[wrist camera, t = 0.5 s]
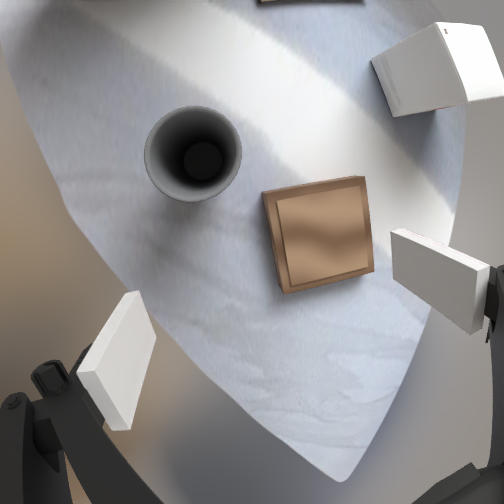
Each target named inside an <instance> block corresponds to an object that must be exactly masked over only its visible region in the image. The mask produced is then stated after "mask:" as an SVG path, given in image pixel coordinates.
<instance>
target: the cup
mask: <svg viewBox="0 0 504 504" xmlns="http://www.w3.org/2000/svg"><path fill="white" fill-rule="evenodd" d="M241 158H242V146H241V142H240V137H239V135H238V133H237V131H236V129H235V127H234V126H233V125H232V123H231V122H230V121H229V120H228V119H227V118H226V117H225V116H224V115H222V114H221V113H219V112H217V111H216V110H213V109H210V108H207V107H202V106H186V107H182V108H179V109H176V110H174V111H172V112H170V113H168V114H167V115H165V116H164V117H162V118H161V119H160V120H159V121H158V122H157V123H156V124H155V126H154V127H153V129H152V130H151V132H150V133H149V136H148V138H147V141H146V145H145V150H144V162H145V166H146V171H147V173H148V175H149V177H150V179H151V181H152V182H153V183H154V185H155V186H156V187H157V188H158V189H159V190H160V191H161V192H162V193H164V194H165V195H167V196H169V197H170V198H173V199H176V200H179V201H184V202H199V201H203V200H207V199H210V198H212V197H214V196H216V195H218V194H219V193H221V192H222V191H223V190H225V189H226V188H227V187H228V186H229V185H230V183H231V182H232V181H233V179H234V178H235V176H236V174H237V172H238V169H239V167H240V163H241Z"/></svg>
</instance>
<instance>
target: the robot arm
mask: <svg viewBox="0 0 504 504" xmlns="http://www.w3.org/2000/svg"><path fill="white" fill-rule="evenodd" d="M390 234H391V247H392V265H393V279H394V280H395V281H397V282H398V283H400V284H401V285H402V286H404V287H405V288H407V289H408V290H410V291H411V292H412V293H414V294H415V295H417V296H418V297H419V298H421V299H422V300H423V301H425V302H426V303H428V304H429V305H430V306H432V307H433V308H434V309H436V310H437V311H439V312H440V313H441V314H443V315H444V316H445V317H447V318H448V319H449V320H451V321H452V322H453V323H455V324H456V325H457V326H458V327H460V328H461V329H462V330H464V331H465V332H466V333H468V334H469V335H471V334H473V333H474V332H477V331H478V330H480V329H482V326H483V320H484V315H485V316H487V317H488V318H490V322H489V327H488V333H487V338H486V343H488V340H489V339H490V346H491V358H492V376H493V420H492V437H491V438H492V439H491V449H490V458H489V462H488V465H487V467H485V468H481V469H476V468H475V466H474V465H473V464H472V463H469V464H467V465H466V466H464V467H463V468H461V469H460V470H458V471H456V472H455V473H453V474H451V475H450V476H448V477H446V478H445V479H443V480H441V481H439V482H438V483H436V484H435V485H434V486H432V487H431V488H430V489H429V490H428V491H427V492H425V493H424V494H423V495H422V496H421V497H419V498H418V499H417V500H416V501H414V502H413V503H412V504H504V265H501V266H499V267H498V268H497V269H496V268H494V267H492V266H490V265H488V264H486V263H483V262H481V261H479V260H477V259H475V258H472V257H470V256H468V255H466V254H463V253H461V252H459V251H457V250H454V249H452V248H450V247H447V246H445V245H442V244H440V243H438V242H435V241H433V240H430V239H428V238H426V237H423V236H421V235H418V234H416V233H413V232H411V231H408V230H405V229H403V228H400V229H396V230H392V231H390ZM156 338H157V337H156V335H155V332H154V330H153V327H152V324H151V322H150V319H149V317H148V314H147V311H146V309H145V306H144V303H143V300H142V297H141V295H140V292H139V290H138V291H133V292H129V293H125V295H124V296H123V298H122V299H121V301H120V302H119V304H118V305H117V307H116V308H115V310H114V312H113V313H112V314H111V316H110V318H109V319H108V321H107V322H106V324H105V325H104V327H103V329H102V330H101V332H100V333H99V335H98V337H97V338H96V340H95V342H94V343H91V344H90V345H89V346H88V347H87V348H86V349H84V350H83V352H82V353H81V355H80V357H79V359H78V360H77V362H76V365H74V366H73V368H72V370H71V371H70V373H69V375H68V373H67V371H66V369H65V367H64V366H63V364H62V362H61V361H59V360H51V361H48V362H45V363H43V364H41V365H40V366H38V367H37V368H36V369H35V370H34V371H33V373H32V374H31V379H32V381H33V383H34V384H35V386H36V388H37V389H38V391H39V392H40V394H41V395H42V397H43V399H40V400H37V401H33V402H31V401H30V400H29V398H28V397H27V395H26V394H25V393H23V392H18V393H14V394H11V395H9V397H7V398H6V399H5V401H4V402H3V403H2V405H1V408H0V504H73V503H72V498H71V493H70V488H69V482H68V476H67V470H66V463H65V455H64V452H65V454H66V456H67V458H68V460H69V462H70V464H71V466H72V468H73V470H74V472H75V474H76V476H77V478H78V480H79V482H80V484H81V485H82V487H83V489H84V491H85V493H86V494H87V496H88V498H89V500H90V501H91V503H92V504H164V503H163V502H162V501H161V500H160V499H159V498H158V497H157V496H156V494H155V493H154V492H153V491H152V490H151V489H150V488H149V487H148V486H147V484H146V483H145V482H144V481H143V480H142V479H141V478H140V476H139V475H138V474H137V473H136V472H135V470H133V468H132V467H131V465H130V464H129V463H128V462H127V460H126V459H125V458H124V457H123V455H122V454H121V453H120V452H119V450H118V449H117V448H116V446H115V445H114V444H113V442H112V441H111V440H110V438H109V437H108V435H107V434H106V432H105V431H104V430H103V428H102V426H103V423H104V421H106V422H107V424H108V425H109V427H110V428H111V429H112V431H114V430H130V429H131V425H132V421H133V417H134V414H135V410H136V406H137V402H138V399H139V395H140V392H141V388H142V384H143V381H144V378H145V374H146V371H147V367H148V364H149V360H150V357H151V353H152V351H153V347H154V344H155V341H156Z"/></svg>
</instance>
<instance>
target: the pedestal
mask: <svg viewBox="0 0 504 504" xmlns="http://www.w3.org/2000/svg"><path fill="white" fill-rule="evenodd" d="M262 195H263V200H264V206H265V211H266V216H267V222H268V227H269V232H270V238H271V243H272V248H273V254H274V259H275V265H276V270H277V276H278V282H279V286H280V288H281V290H282V292H283V294H289V293H293V292H297V291H301V290H305V289H309V288H313V287H317V286H321V285H325V284H329V283H333V282H337V281H341V280H345V279H349V278H353V277H356V276H360V275H364V274H367V273H371V272H374V258H373V245H372V234H371V223H370V214H369V205H368V197H367V190H366V182H365V176H349V177H343V178H337V179H331V180H325V181H319V182H313V183H307V184H302V185H296V186H291V187H285V188H280V189H275V190H270V191H265V192H262Z"/></svg>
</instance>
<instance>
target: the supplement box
mask: <svg viewBox="0 0 504 504" xmlns="http://www.w3.org/2000/svg"><path fill="white" fill-rule="evenodd" d="M371 62H372V64H373V66H374V69H375V71H376V74H377V76H378V78H379V81H380V83H381V86H382V89H383V91H384V94H385V97H386V99H387V102H388V105H389V107H390V110H391V113H392V116H393V117H400V116H405V115H410V114H415V113H421V112H426V111H431V110H437V109H442V108H447V107H453V106H458V105H464V104H469V103H474V102H479V101H485V100H490V99H495V98H499V97H504V79H503V76H502V74H501V71H500V68H499V66H498V63H497V60H496V58H495V55H494V52H493V50H492V47H491V45H490V42H489V40H488V38H487V35H486V33H485V31H484V29H483V27H482V26H476V25H466V24H462V23H458V24H456V23H442V22H435V23H433V24H432V25H430V26H428V27H426V28H424V29H422V30H420V31H418V32H417V33H415V34H413V35H411V36H409V37H408V38H406V39H404V40H402V41H401V42H399V43H397V44H395V45H394V46H392V47H390V48H389V49H387V50H385V51H384V52H382V53H380V54H379V55H377V56H375V57H374V58H372V59H371Z"/></svg>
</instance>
